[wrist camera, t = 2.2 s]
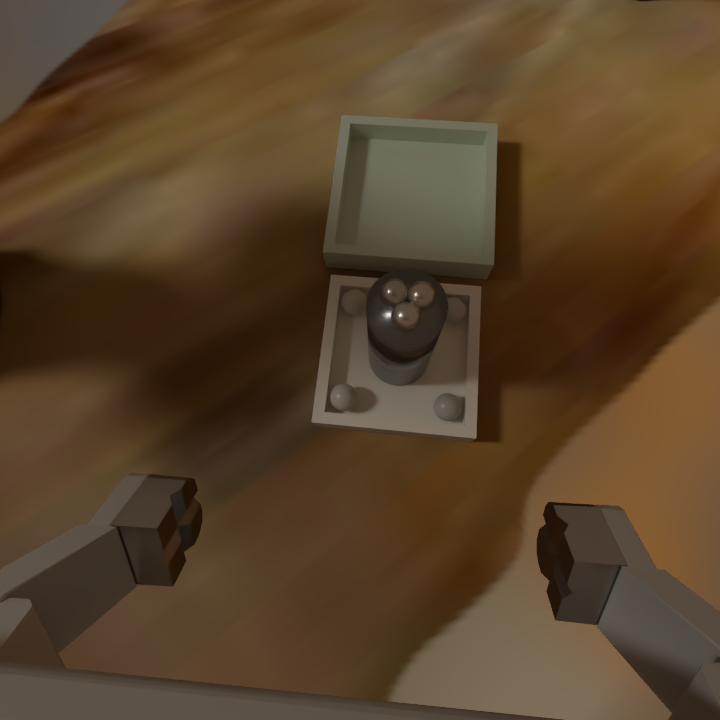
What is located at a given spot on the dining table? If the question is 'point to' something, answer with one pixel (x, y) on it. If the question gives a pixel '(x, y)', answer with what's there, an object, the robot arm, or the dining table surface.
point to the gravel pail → (404, 324)
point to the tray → (389, 402)
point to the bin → (413, 197)
